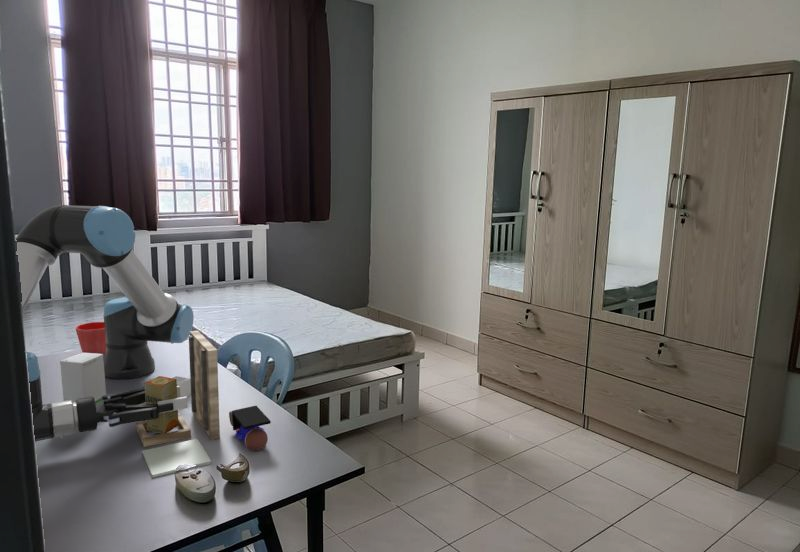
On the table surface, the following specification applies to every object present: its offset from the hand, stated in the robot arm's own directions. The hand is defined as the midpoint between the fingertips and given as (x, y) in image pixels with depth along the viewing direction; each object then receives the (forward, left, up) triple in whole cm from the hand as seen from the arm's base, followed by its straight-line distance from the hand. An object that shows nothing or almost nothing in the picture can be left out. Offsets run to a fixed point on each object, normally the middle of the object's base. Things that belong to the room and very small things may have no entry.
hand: (183, 396), depth 141 cm
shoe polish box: (+4, -3, -7) cm, 9 cm away
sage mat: (+13, +7, -8) cm, 17 cm away
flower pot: (-38, -63, -9) cm, 75 cm away
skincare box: (+2, -28, -9) cm, 30 cm away
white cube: (-16, -14, -9) cm, 23 cm away
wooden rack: (+1, -1, -8) cm, 9 cm away
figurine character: (0, +18, -9) cm, 20 cm away
